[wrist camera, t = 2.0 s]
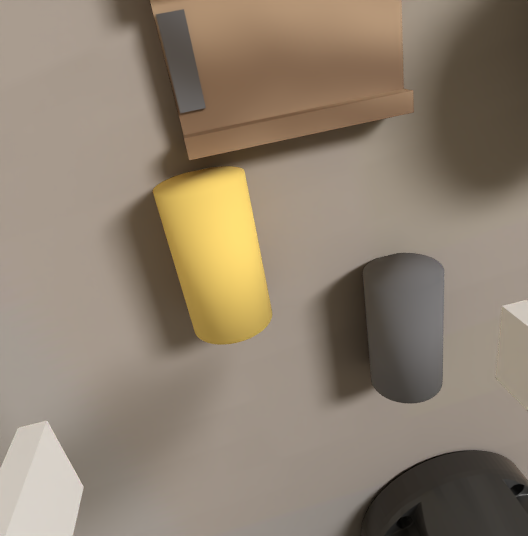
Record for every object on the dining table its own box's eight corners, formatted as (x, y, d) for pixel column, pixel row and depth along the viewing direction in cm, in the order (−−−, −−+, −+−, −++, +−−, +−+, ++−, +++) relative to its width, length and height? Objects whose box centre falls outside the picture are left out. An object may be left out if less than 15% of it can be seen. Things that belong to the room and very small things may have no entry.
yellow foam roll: (284, 301, 25) (250, 349, 22) (219, 295, 27) (178, 338, 24) (259, 164, 22) (214, 196, 18) (186, 168, 23) (133, 197, 20)
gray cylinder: (407, 347, 31) (458, 382, 27) (357, 374, 30) (404, 414, 26) (404, 246, 28) (462, 270, 24) (347, 270, 26) (399, 300, 22)
